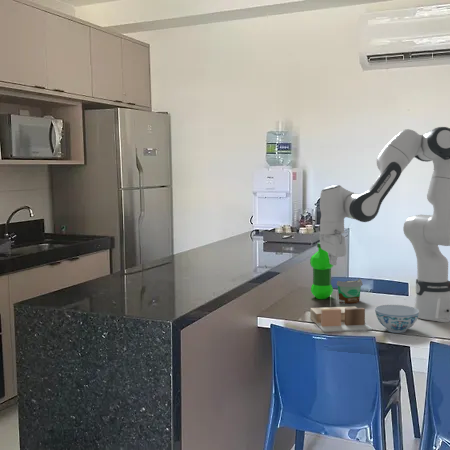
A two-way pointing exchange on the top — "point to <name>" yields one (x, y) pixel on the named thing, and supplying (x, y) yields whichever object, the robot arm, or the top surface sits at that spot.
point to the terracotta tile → (330, 317)
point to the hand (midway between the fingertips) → (333, 264)
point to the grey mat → (344, 327)
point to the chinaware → (396, 317)
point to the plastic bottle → (321, 274)
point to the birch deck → (316, 312)
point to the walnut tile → (354, 316)
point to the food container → (349, 291)
